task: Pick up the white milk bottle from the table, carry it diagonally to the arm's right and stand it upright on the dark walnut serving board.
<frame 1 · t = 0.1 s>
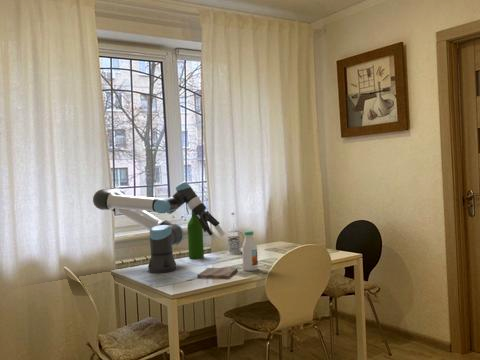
hand: (219, 237, 267), 15 cm above the table, tool tilted 35°, fingers open, 13 cm apart
milk bottle: (250, 269, 253), on the table
walnut board: (217, 274, 245), on the table
wine bottle: (196, 257, 292), on the table
french press: (235, 252, 303), on the table
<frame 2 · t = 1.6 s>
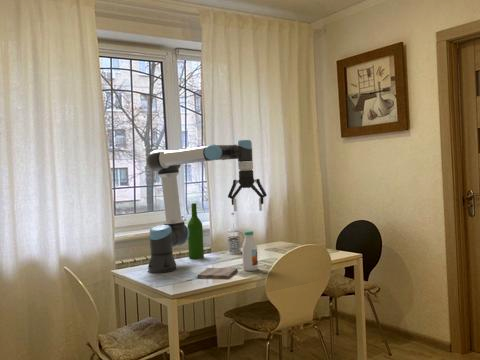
hand: (247, 211, 252), 31 cm above the table, tool pointing down, fingers open, 13 cm apart
nothing on the table moved.
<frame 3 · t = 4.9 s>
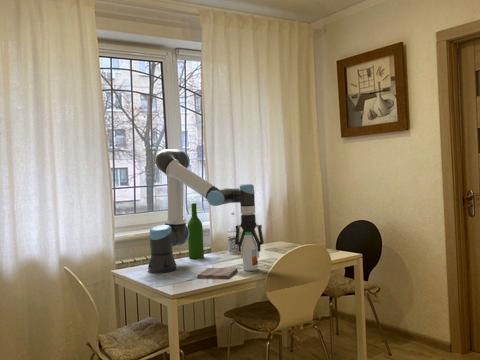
hand: (250, 257, 253), 6 cm above the table, tool pointing down, fingers closed on milk bottle, 7 cm apart
milk bottle: (250, 269, 253), on the table, touching gripper
everything else where it was.
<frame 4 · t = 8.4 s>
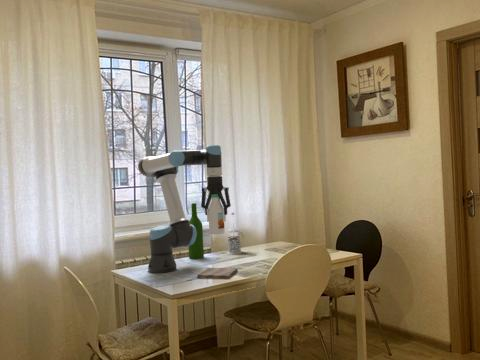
hand: (216, 221, 245), 27 cm above the table, tool pointing down, fingers closed on milk bottle, 7 cm apart
milk bottle: (217, 233, 245), point 20 cm above the table, touching gripper
everything else where it was.
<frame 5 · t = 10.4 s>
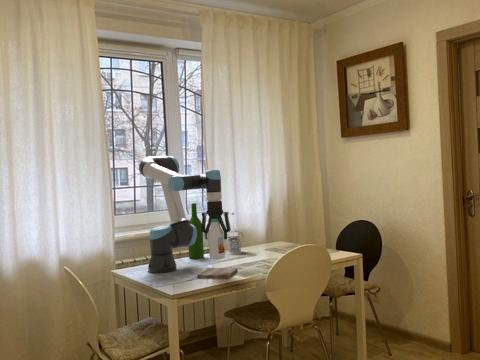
hand: (216, 245, 245), 15 cm above the table, tool pointing down, fingers closed on milk bottle, 7 cm apart
milk bottle: (217, 258, 245), point 8 cm above the table, touching gripper
everything else where it was.
when the fingers open (9 cm above the table, at t = 12.2 s): milk bottle drops 1 cm, resting on walnut board.
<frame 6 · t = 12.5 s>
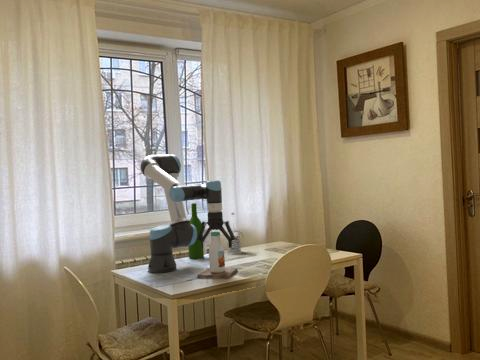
hand: (216, 254, 245), 10 cm above the table, tool pointing down, fingers open, 12 cm apart
milk bottle: (217, 271, 245), point 1 cm above the table, touching walnut board
everything else where it was.
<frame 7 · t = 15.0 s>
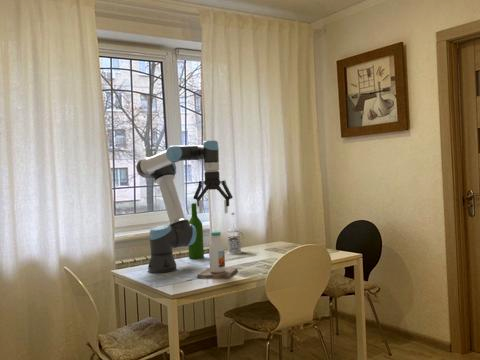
hand: (213, 213, 247), 31 cm above the table, tool pointing down, fingers open, 13 cm apart
nothing on the table moved.
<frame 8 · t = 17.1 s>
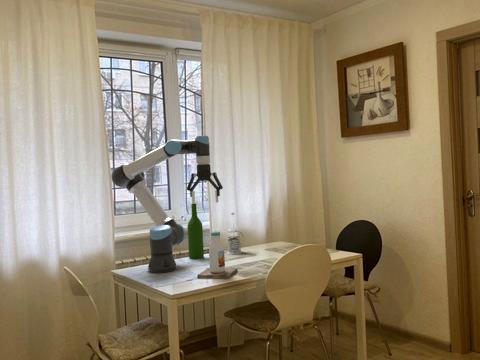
hand: (205, 202, 266), 35 cm above the table, tool pointing down, fingers open, 13 cm apart
nothing on the table moved.
at the end: milk bottle inside the target area on the walnut board (0.1 cm from its centre), point 1.3 cm above the walnut board's base; milk bottle tilted 0°; the gripper is holding nothing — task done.
